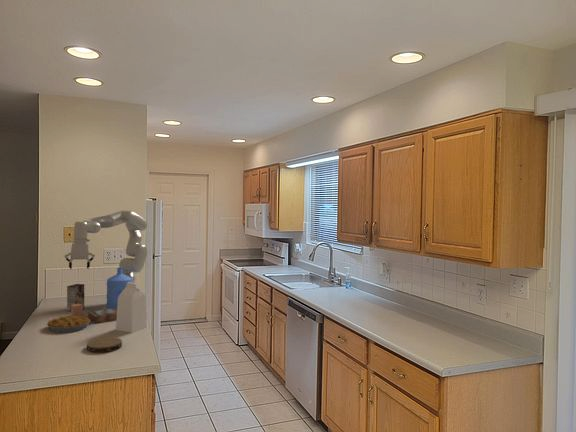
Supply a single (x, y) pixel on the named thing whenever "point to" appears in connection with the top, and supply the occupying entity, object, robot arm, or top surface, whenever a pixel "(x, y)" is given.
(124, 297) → the milk
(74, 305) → the terracotta block
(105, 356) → the top surface
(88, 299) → the top surface
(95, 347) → the brown round disc
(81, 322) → the pie
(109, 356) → the top surface
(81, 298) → the coffee box
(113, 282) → the water jug
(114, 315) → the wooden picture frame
